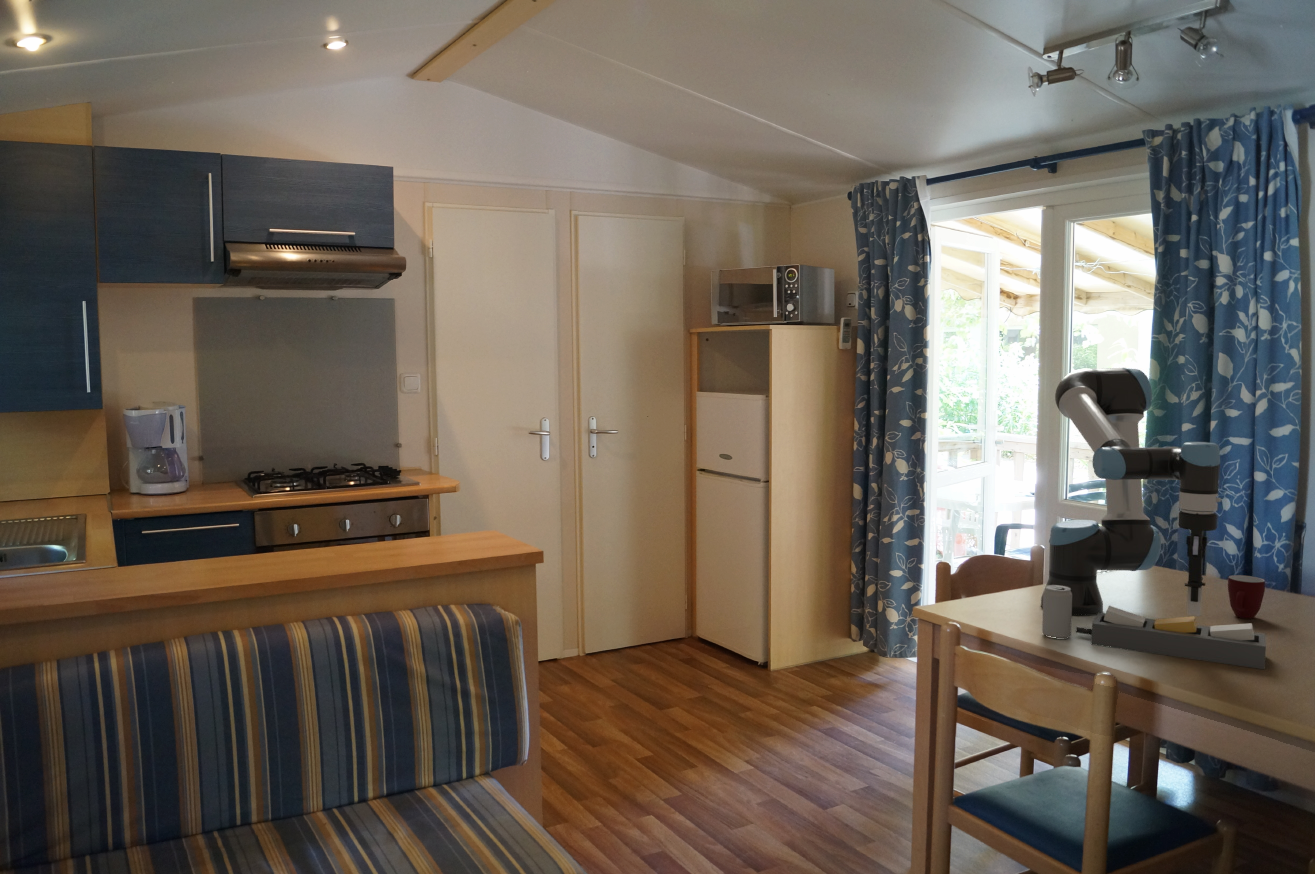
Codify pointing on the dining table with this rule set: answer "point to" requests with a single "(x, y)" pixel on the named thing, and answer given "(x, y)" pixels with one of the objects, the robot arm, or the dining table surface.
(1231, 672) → the dining table surface
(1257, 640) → the power strip
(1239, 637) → the rocker grey right
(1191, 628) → the rocker amber
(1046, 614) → the beverage can
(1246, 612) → the mug
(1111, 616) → the rocker grey left
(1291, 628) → the dining table surface
